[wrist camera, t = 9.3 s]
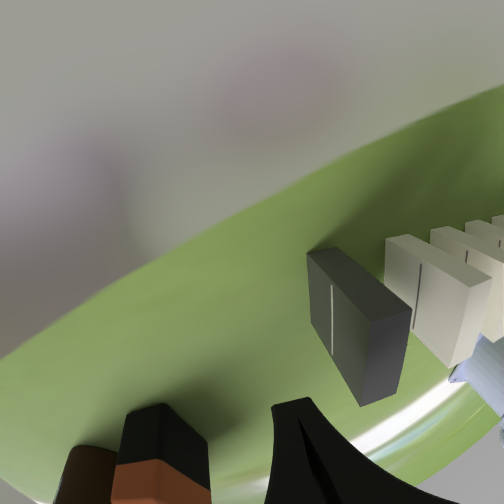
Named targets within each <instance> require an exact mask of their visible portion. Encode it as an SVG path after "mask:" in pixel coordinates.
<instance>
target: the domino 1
mask: <svg viewBox="0 0 504 504" xmlns="http://www.w3.org/2000/svg"><path fill="white" fill-rule="evenodd" d="M306 254H307V267H308V280H309V295H310V312H311V323H312V325H313V327H314V328H315V330H316V332H317V334H318V335H319V337H320V339H321V340H322V342H323V344H324V346H325V347H326V349H327V351H328V352H329V354H330V356H331V357H332V359H333V361H334V363H335V364H336V366H337V368H338V370H339V371H340V373H341V375H342V376H343V378H344V380H345V382H346V383H347V385H348V387H349V389H350V390H351V392H352V394H353V396H354V397H355V399H356V401H357V403H358V404H359V406H360V407H362V406H365V405H368V404H370V403H373V402H376V401H378V400H381V399H383V398H386V397H389V396H391V395H393V394H396V391H397V387H398V383H399V379H400V375H401V371H402V366H403V362H404V357H405V352H406V347H407V341H408V336H409V330H410V324H411V317H412V310H413V309H412V308H411V307H410V306H409V305H408V304H406V303H405V302H404V301H403V300H402V299H400V298H399V297H398V296H397V295H396V294H394V293H393V292H392V291H391V290H390V289H388V288H387V287H386V286H385V285H383V284H382V283H381V282H380V281H379V280H377V279H376V278H375V277H374V276H372V275H371V274H370V273H369V272H367V271H366V270H365V269H364V268H362V267H361V266H360V265H359V264H357V263H356V262H355V261H354V260H352V259H351V258H350V257H349V256H347V255H346V254H345V253H343V252H342V251H341V250H340V249H338V248H337V247H336V248H331V249H326V250H321V251H316V252H310V253H306Z"/></svg>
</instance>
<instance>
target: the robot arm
mask: <svg viewBox="0 0 504 504" xmlns="http://www.w3.org/2000/svg"><path fill="white" fill-rule="evenodd" d="M448 381H449V382H450V383H455V382H463V381H467V382H468V383H469V384H470V385H471V386H472V387H473V388H474V390H475V391H476V392H477V393H478V394H479V395H480V396H481V397H482V398H483V399H484V400H485V401H486V402H487V403H488V405H489V406H490V407H491V408H492V409H493V410H494V411H495V412H496V413H497V414H498V416H499V417H500V418H501V419H502V420H501V421H500V422H499V425H500V426H501V427H502V428H501V430H500V442H501V445H502V447H503V449H504V336H503V337H502V338H500V339H499V340H497V341H495V342H494V343H492V342H491V341H490V340H489V339H488V338H486V337H485V336H484V335H483V334H481V333H480V332H479V336H478V339H477V342H476V345H475V348H474V351H473V354H472V356H471V357H469V358H468V359H466V360H464V361H462V362H461V363H459V364H458V365H457V367H456V369H455V370H454V372H453V373H452V375H451V376H450V378H449V380H448ZM271 411H272V417H273V423H274V445H273V459H272V466H271V473H270V480H269V485H268V490H267V494H266V498H265V502H264V504H459V503H456V502H453V501H449V500H446V499H443V498H440V497H437V496H434V495H432V494H429V493H427V492H424V491H422V490H420V489H417V488H416V487H414V486H412V485H410V484H408V483H406V482H404V481H402V480H400V479H398V478H396V477H395V476H393V475H391V474H390V473H388V472H387V471H385V470H384V469H382V468H381V467H379V466H378V465H376V464H375V463H374V462H372V461H371V460H370V459H368V458H367V457H366V456H364V455H363V454H362V453H361V452H360V451H358V450H357V449H356V448H355V447H354V446H353V445H352V444H351V443H349V442H348V441H347V440H346V439H345V438H344V437H343V436H342V435H341V434H340V433H339V432H338V431H337V430H336V429H335V428H334V427H333V426H332V424H331V423H330V422H329V421H328V420H327V419H326V418H325V416H324V415H323V414H322V413H321V412H320V410H319V409H318V408H317V406H316V405H315V404H314V402H313V401H312V399H311V398H309V397H305V398H301V399H297V400H293V401H288V402H284V403H280V404H275V405H273V406H272V407H271Z"/></svg>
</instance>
